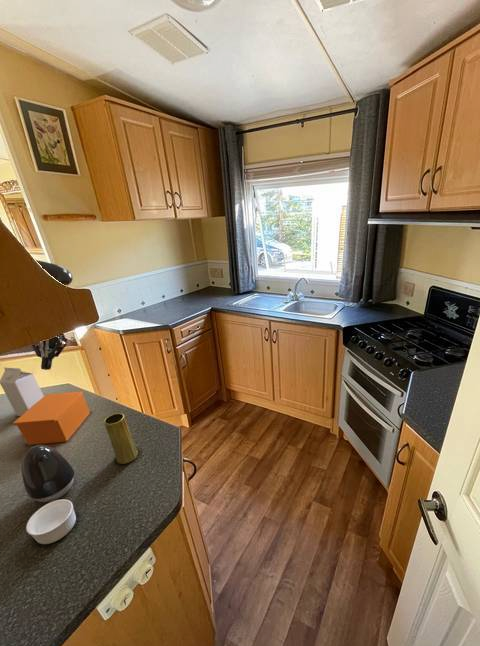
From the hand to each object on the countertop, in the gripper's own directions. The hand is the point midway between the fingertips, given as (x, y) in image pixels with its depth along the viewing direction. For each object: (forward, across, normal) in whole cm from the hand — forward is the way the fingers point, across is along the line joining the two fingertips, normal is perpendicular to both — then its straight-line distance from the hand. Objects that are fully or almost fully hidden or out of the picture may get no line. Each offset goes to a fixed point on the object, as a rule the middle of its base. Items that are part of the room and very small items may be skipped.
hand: (45, 369), depth 99 cm
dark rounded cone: (+36, +22, -10) cm, 44 cm away
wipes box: (+20, +1, +7) cm, 21 cm away
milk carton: (+13, -19, +12) cm, 26 cm away
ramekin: (+43, +31, -16) cm, 55 cm away
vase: (+29, +34, +2) cm, 44 cm away
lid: (+13, +2, +2) cm, 13 cm away
